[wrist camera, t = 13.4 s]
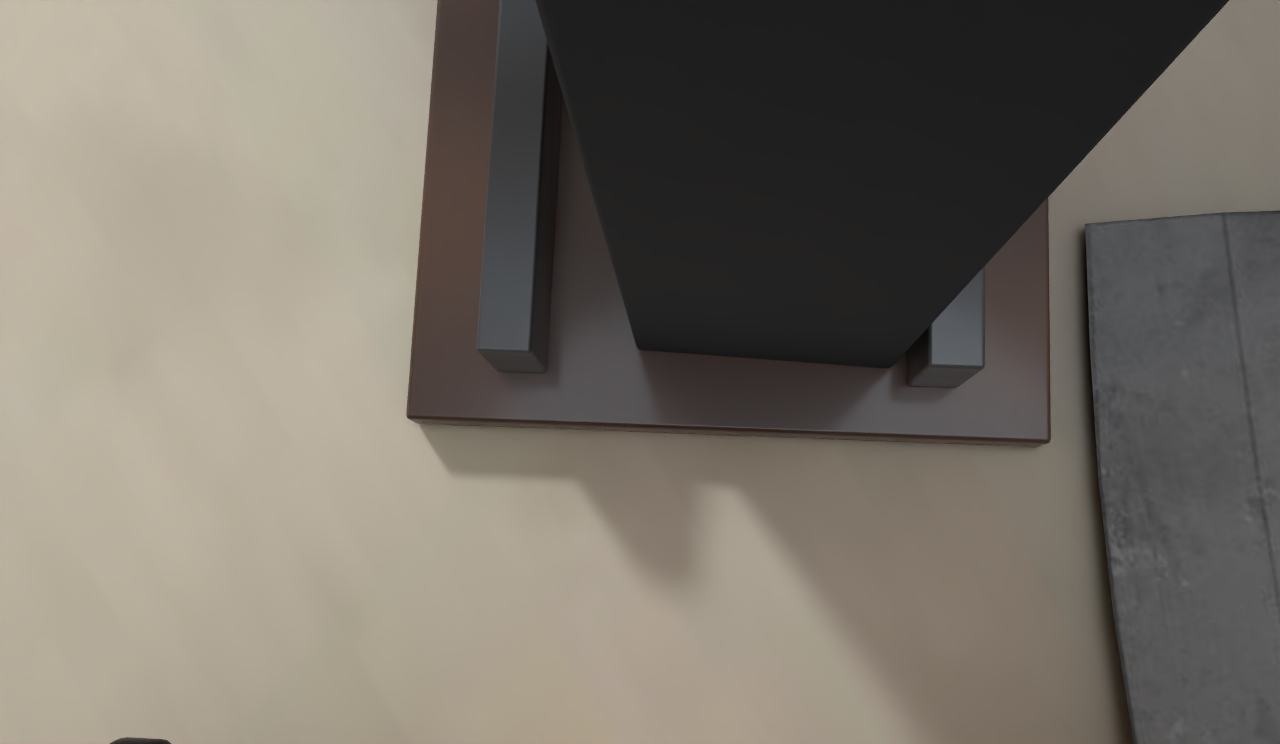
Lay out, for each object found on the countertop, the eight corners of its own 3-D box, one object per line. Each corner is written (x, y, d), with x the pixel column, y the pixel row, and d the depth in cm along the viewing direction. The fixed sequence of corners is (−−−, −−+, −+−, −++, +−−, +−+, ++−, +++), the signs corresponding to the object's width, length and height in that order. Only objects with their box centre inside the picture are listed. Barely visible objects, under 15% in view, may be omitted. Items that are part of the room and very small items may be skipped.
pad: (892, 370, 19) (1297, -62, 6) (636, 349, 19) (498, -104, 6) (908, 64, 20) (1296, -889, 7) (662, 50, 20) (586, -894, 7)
